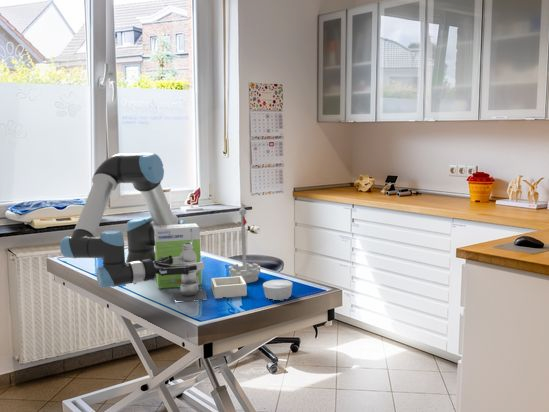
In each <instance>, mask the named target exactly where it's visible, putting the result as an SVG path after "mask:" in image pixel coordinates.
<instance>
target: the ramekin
mask: <svg viewBox="0 0 549 412" xmlns="http://www.w3.org/2000/svg"><path fill="white" fill-rule="evenodd" d="M293 286H294V285H293V282H292V281H290V280H287V279H270V280H267V281H265V282H263V284H262V288H263V292H264V296H265V298H266V299H267V298H268V299H267V300H269V299H273V300H272V301H274V300H280V301H285V300H284V299H286V300H288V299H290V298H291V295H292V292H293V290H292V289H293ZM289 297H290V298H289Z"/></svg>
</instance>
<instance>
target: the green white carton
mask: <svg viewBox="0 0 549 412" xmlns="http://www.w3.org/2000/svg"><path fill="white" fill-rule="evenodd" d="M200 229H201V228H200V226H199V225H198V224H197V223H194V222H193V223H185V224H177V225H160V226H154V236H155V246H154V250H155V257H156V260H158V259H161V258H165V257H168V258H169V256H172V258H173V257H179V256H180V254H181V252H182V251H183V249H182V244H183V243H192V247H193V248H192V250H193V251H194V252H195V254H196V256H197V261H196V263H198V262H202V261H201V260H202V257H201V255H202V254H201V232H200ZM171 265H173V263H172V264H171ZM175 265H180V264H175ZM155 279H156V284H157V288H158V289H169V288H180V286H181V274H178V275H164V276H161V274H156V275H155ZM202 279H203V278H202V270H197V271H196V280H197V285H198V286H201V285H202V282H203V280H202Z"/></svg>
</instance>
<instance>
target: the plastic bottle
mask: <svg viewBox="0 0 549 412" xmlns="http://www.w3.org/2000/svg"><path fill="white" fill-rule="evenodd" d="M192 248H193V247H192V243H183V244H182V249H183V251H182V252H181V254H180V256H179V261H180V265H187V264H192V263H196V261H197V256H196V254H195V252H194V251H193V250H192ZM179 290H180V291H179V292H181V294H182V295H184V296H192V295H195V294H197V292H198V290H199V285H197V280H196V271H191V272H189V274H188V275H186V274H181V286H180V287H179Z"/></svg>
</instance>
